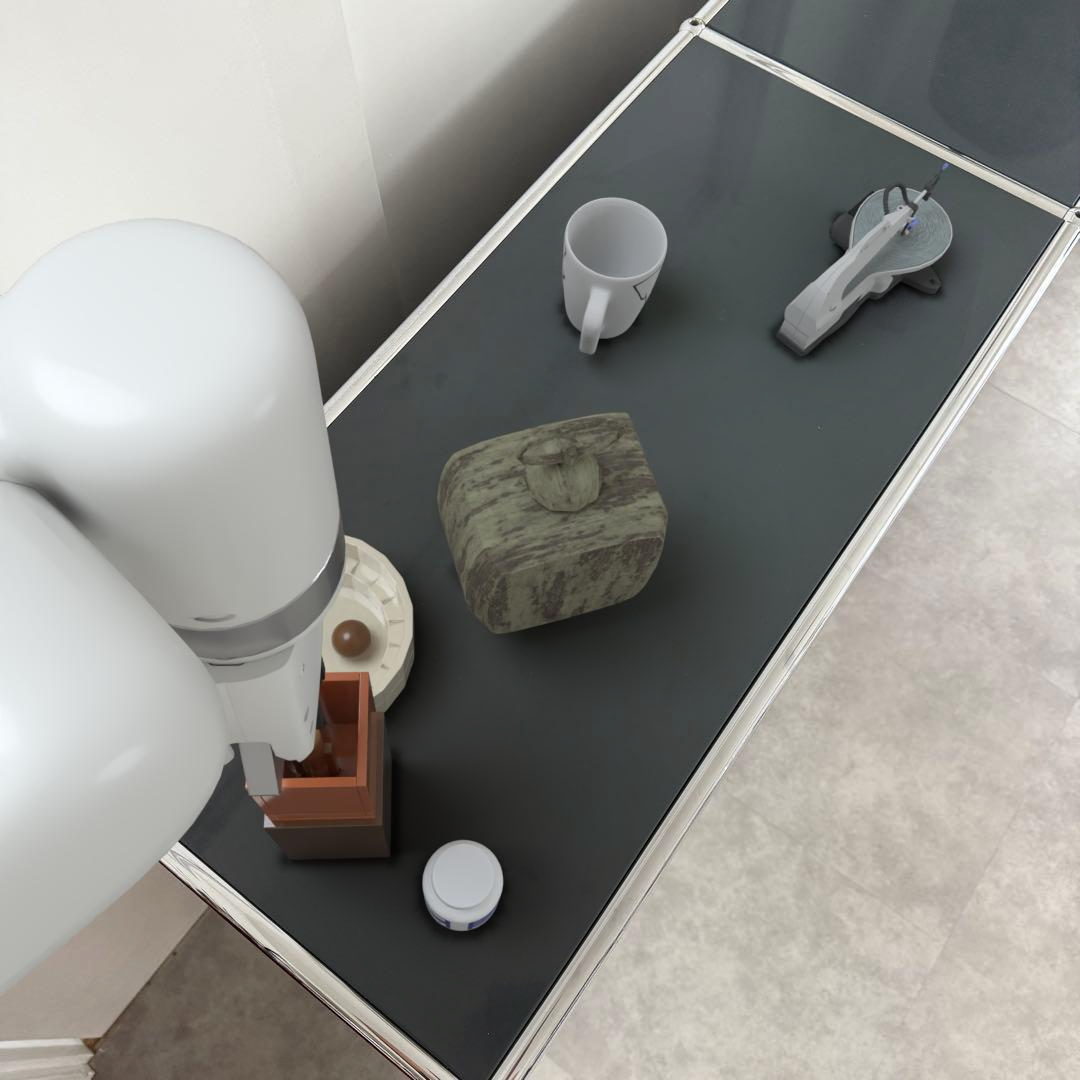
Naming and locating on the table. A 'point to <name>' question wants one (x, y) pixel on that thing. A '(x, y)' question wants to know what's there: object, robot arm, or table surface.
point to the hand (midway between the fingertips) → (290, 699)
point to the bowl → (373, 622)
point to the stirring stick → (318, 760)
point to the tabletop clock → (552, 521)
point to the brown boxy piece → (338, 782)
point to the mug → (610, 266)
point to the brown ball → (351, 639)
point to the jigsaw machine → (871, 260)
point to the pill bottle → (462, 885)
